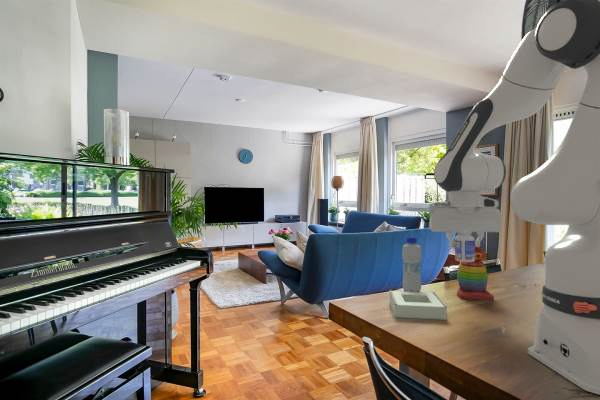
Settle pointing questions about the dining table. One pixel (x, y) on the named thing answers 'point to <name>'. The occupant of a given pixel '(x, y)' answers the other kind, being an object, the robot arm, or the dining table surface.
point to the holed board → (417, 305)
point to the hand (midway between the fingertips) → (464, 246)
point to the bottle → (411, 266)
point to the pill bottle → (465, 247)
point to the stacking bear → (473, 278)
